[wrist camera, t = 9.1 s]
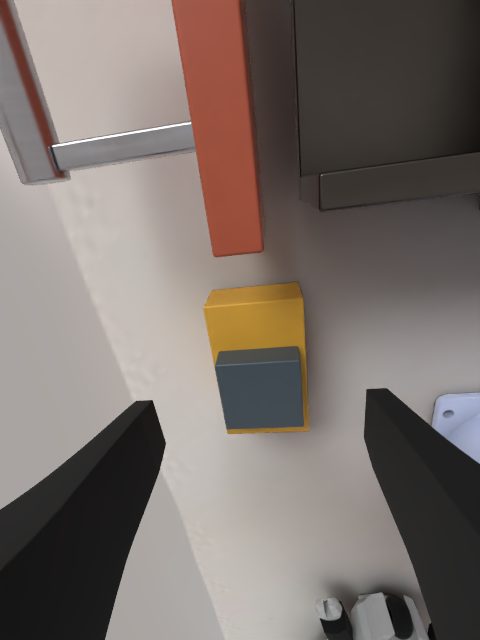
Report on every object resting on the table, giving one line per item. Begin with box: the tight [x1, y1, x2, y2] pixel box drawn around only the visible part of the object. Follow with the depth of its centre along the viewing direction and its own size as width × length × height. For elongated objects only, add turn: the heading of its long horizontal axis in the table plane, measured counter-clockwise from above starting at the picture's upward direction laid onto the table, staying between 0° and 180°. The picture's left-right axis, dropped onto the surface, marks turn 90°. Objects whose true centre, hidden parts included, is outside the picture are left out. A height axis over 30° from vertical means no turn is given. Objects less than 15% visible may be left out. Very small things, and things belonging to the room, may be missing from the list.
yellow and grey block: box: [204, 282, 309, 434], centre depth 13 cm, size 6×4×4 cm, turn 7°
